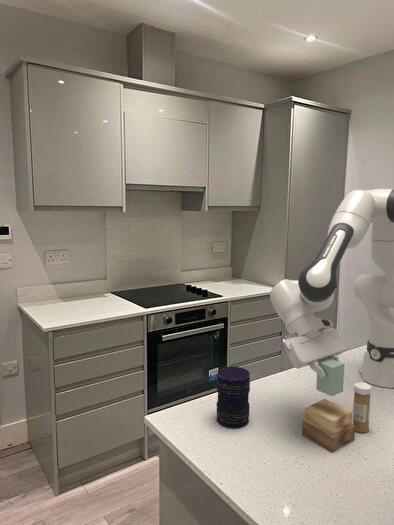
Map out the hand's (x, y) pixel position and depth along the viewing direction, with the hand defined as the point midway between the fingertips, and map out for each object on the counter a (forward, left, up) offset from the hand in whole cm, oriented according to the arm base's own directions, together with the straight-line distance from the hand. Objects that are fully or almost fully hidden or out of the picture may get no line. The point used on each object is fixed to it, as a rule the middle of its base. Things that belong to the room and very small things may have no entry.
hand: (332, 374), depth 110 cm
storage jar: (+16, -23, -19) cm, 33 cm away
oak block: (0, -1, -14) cm, 14 cm away
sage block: (0, -1, -5) cm, 5 cm away
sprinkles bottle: (-11, +2, -19) cm, 22 cm away
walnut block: (0, 0, -19) cm, 19 cm away
